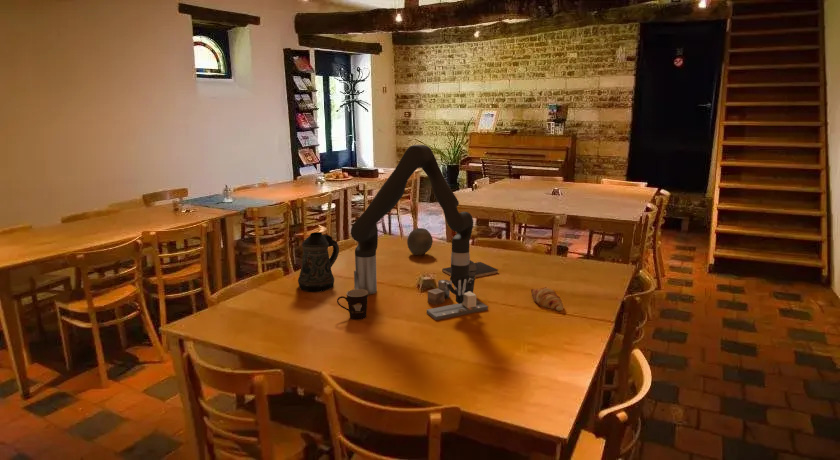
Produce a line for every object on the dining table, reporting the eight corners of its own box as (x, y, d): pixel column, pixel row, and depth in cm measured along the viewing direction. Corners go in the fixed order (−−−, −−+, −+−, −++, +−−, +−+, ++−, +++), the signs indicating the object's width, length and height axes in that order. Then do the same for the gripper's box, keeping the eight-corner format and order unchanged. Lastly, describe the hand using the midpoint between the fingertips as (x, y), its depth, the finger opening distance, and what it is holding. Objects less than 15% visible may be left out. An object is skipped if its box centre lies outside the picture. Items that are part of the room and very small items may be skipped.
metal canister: (441, 299, 227) (441, 284, 225) (436, 295, 231) (436, 280, 230) (451, 297, 229) (451, 282, 227) (445, 294, 233) (446, 279, 232)
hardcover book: (498, 274, 262) (498, 269, 261) (459, 281, 251) (459, 277, 250) (479, 265, 275) (479, 261, 275) (442, 272, 264) (442, 268, 264)
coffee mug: (372, 314, 212) (372, 290, 209) (363, 322, 204) (362, 298, 201) (346, 310, 215) (345, 287, 213) (336, 318, 207) (335, 294, 205)
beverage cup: (475, 297, 229) (476, 253, 224) (458, 296, 230) (459, 252, 226) (476, 291, 236) (477, 248, 231) (460, 290, 237) (461, 248, 233)
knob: (467, 308, 213) (467, 296, 212) (461, 304, 217) (461, 292, 216) (476, 306, 215) (476, 295, 213) (469, 302, 219) (469, 291, 218)
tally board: (435, 320, 205) (435, 316, 205) (426, 313, 212) (426, 309, 212) (487, 309, 216) (487, 306, 215) (477, 303, 223) (477, 299, 222)
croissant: (567, 319, 215) (575, 302, 214) (549, 312, 210) (558, 294, 210) (536, 300, 234) (544, 284, 233) (519, 293, 229) (528, 277, 229)
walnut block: (435, 305, 221) (435, 294, 220) (427, 302, 224) (427, 291, 223) (444, 302, 224) (444, 291, 223) (436, 299, 228) (436, 288, 226)
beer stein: (291, 289, 239) (287, 236, 233) (314, 276, 257) (312, 226, 251) (322, 294, 233) (319, 239, 227) (344, 280, 251) (342, 229, 245)
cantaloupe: (405, 258, 287) (404, 231, 283) (409, 251, 300) (409, 225, 297) (430, 259, 284) (430, 232, 281) (434, 252, 298) (434, 226, 294)
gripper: (469, 257, 216) (468, 297, 220) (441, 261, 210) (440, 302, 214) (479, 262, 209) (478, 303, 213) (450, 266, 203) (449, 308, 207)
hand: (459, 302), depth 214 cm, fingers closed
